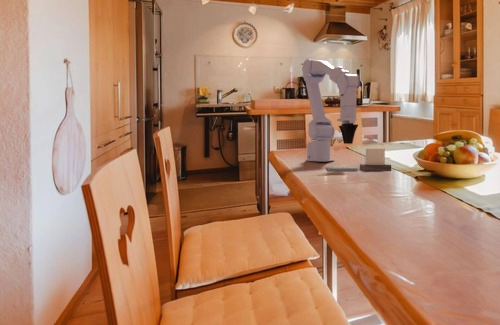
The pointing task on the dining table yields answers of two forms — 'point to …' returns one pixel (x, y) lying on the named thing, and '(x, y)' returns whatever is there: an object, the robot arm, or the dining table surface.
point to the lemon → (421, 154)
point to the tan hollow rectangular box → (375, 167)
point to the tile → (341, 168)
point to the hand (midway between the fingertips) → (348, 143)
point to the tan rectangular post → (375, 156)
